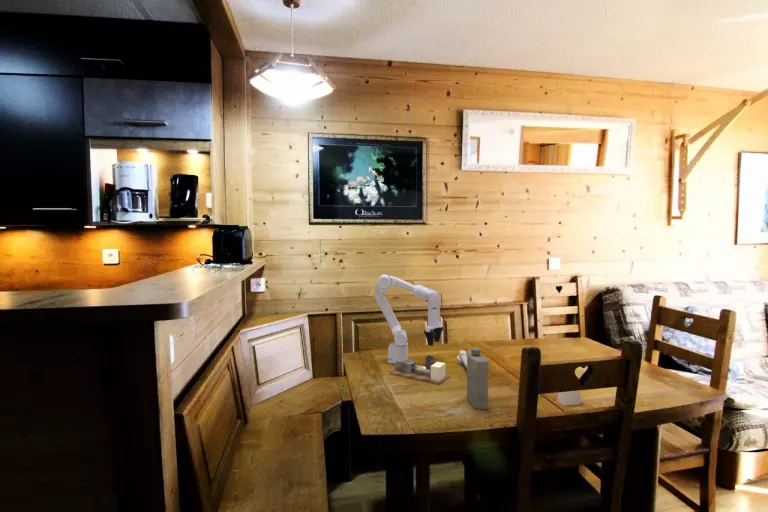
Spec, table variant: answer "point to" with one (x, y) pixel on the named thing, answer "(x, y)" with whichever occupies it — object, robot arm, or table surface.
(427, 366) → the dark grey angular piece
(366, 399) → the table surface
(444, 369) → the socket block
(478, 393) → the flask
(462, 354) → the toothbrush head
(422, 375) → the track base
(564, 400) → the light grey block
